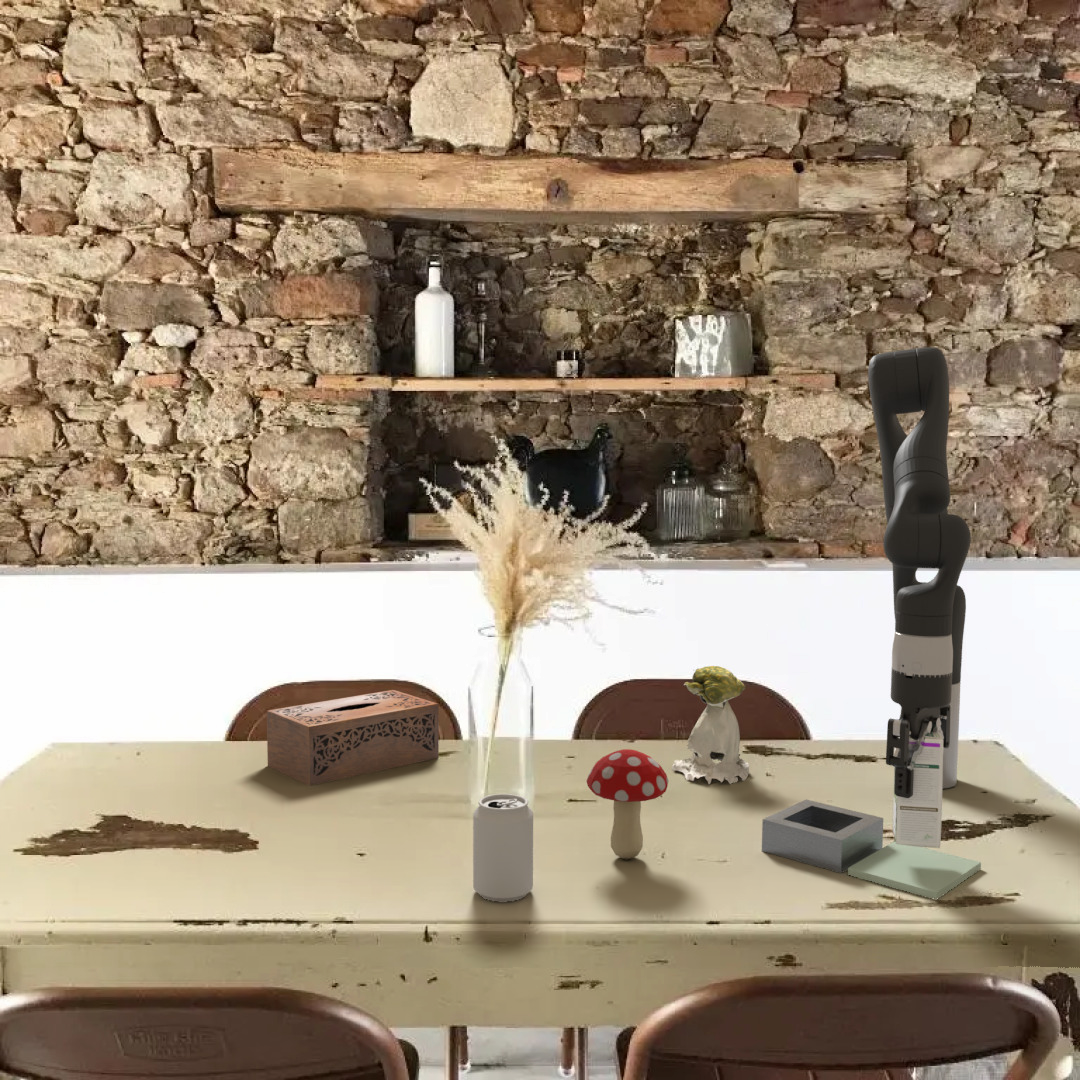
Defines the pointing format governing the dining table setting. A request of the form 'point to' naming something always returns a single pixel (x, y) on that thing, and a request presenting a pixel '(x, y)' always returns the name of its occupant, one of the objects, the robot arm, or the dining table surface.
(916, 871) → the green mat
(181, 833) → the dining table surface
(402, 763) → the tissue box cover
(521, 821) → the can
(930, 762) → the syrup box
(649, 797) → the decorative mushroom
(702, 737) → the yellow capped mushroom
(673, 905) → the dining table surface
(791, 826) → the steel socket
